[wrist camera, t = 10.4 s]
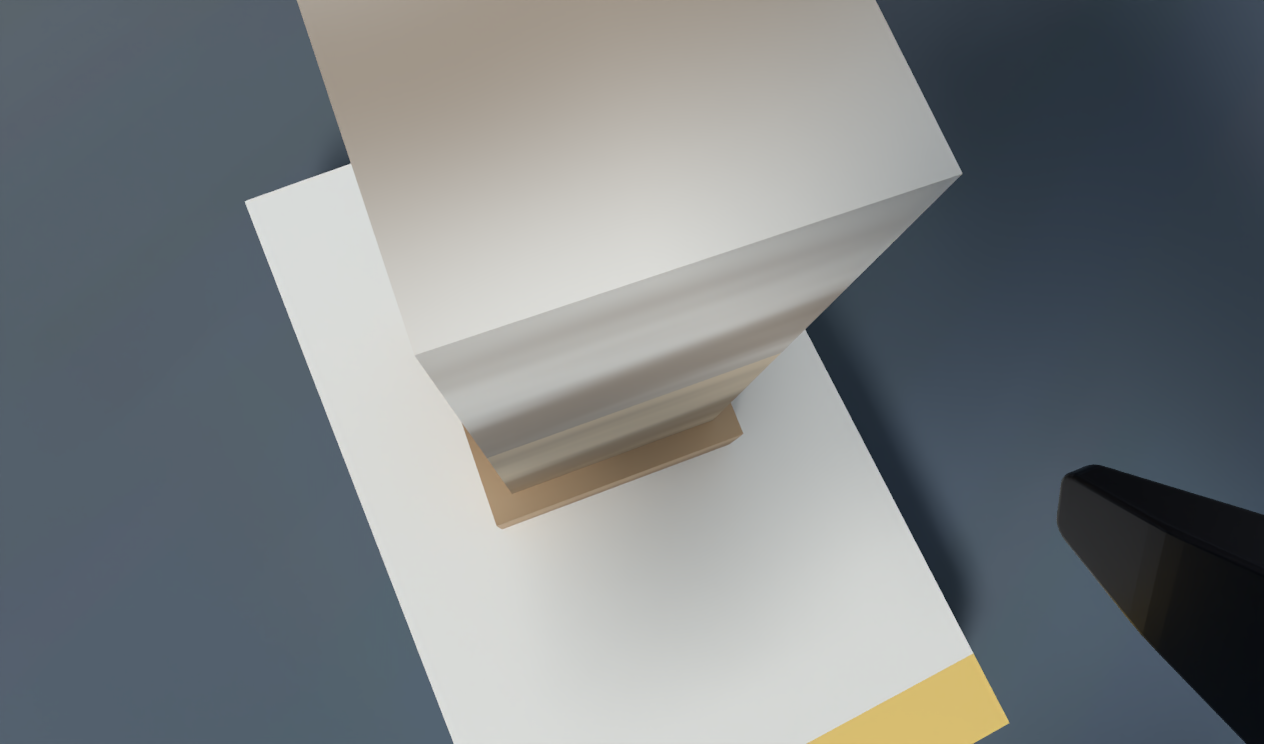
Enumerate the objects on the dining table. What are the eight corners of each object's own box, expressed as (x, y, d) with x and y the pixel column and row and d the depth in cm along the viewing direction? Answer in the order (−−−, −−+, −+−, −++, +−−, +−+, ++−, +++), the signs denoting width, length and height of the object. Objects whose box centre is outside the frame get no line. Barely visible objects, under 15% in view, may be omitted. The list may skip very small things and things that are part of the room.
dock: (945, 700, 20) (1009, 722, 17) (549, 918, 18) (546, 984, 16) (649, 115, 24) (661, 53, 21) (287, 250, 22) (244, 201, 19)
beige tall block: (729, 444, 18) (1044, 210, 6) (501, 529, 18) (366, 446, 5) (644, 235, 20) (775, -307, 7) (426, 305, 19) (172, -180, 7)
